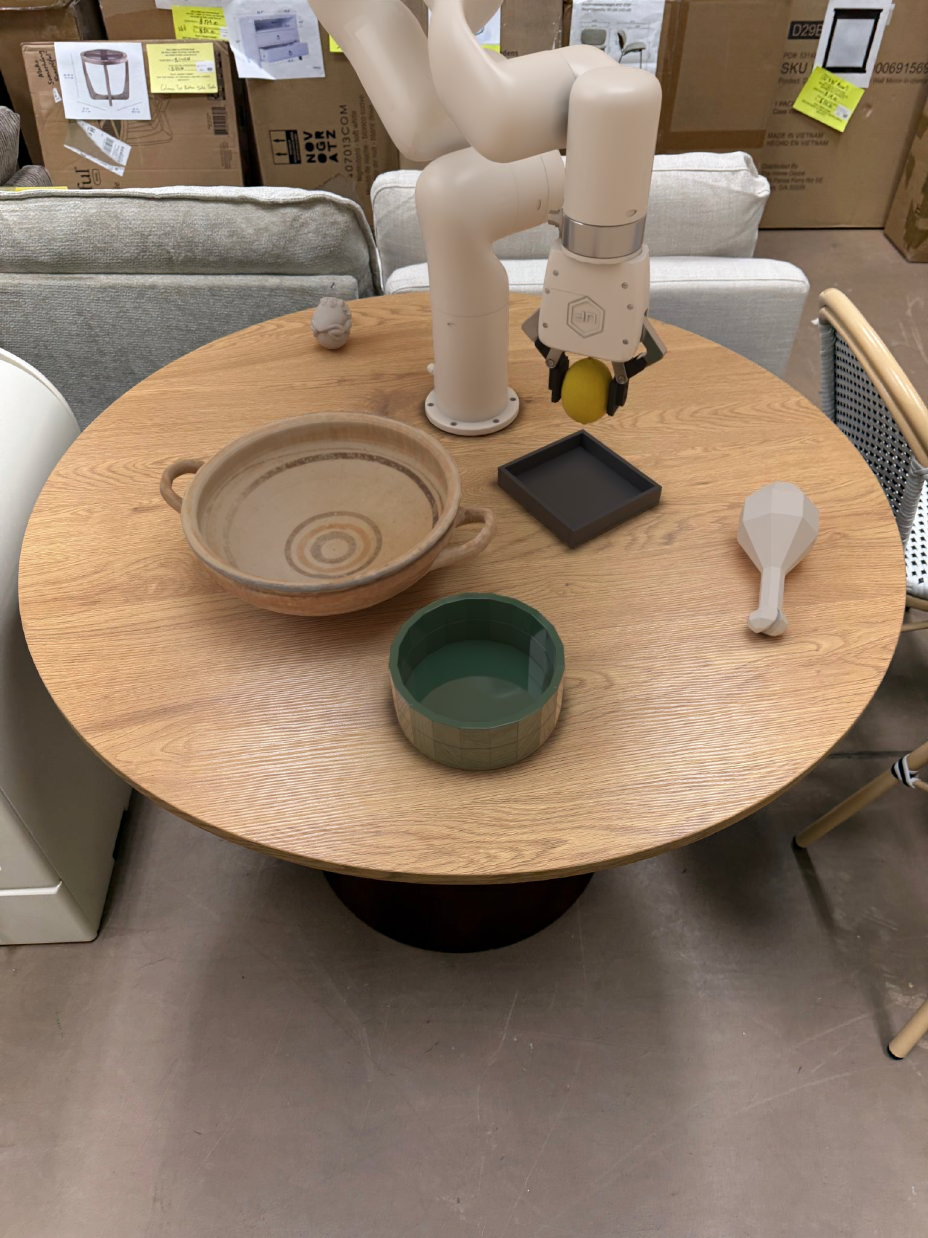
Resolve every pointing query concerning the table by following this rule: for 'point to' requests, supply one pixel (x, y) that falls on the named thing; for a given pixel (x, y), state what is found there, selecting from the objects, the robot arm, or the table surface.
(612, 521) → the tray
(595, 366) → the lemon
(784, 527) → the chicken leg
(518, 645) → the pot
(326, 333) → the frog figurine
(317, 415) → the ceramic bowl
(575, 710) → the table surface
